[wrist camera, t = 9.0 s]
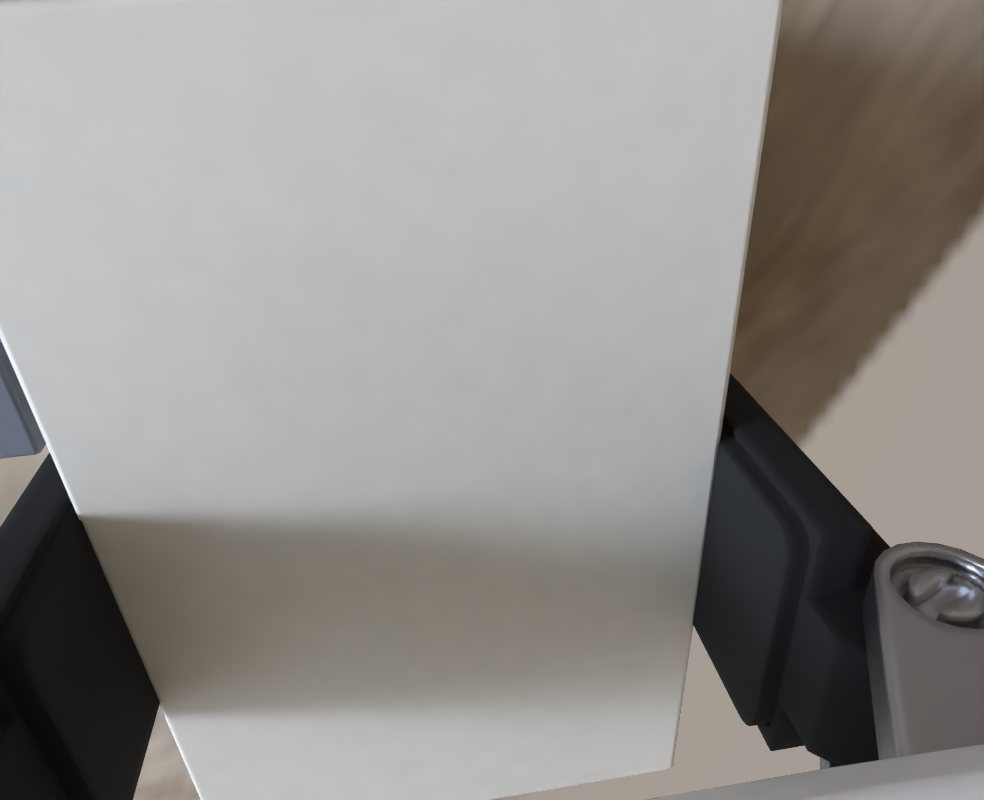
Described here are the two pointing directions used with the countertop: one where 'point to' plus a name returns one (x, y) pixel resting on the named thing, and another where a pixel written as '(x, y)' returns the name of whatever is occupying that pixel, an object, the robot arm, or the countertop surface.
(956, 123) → the countertop surface
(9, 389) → the grey books
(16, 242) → the white book
